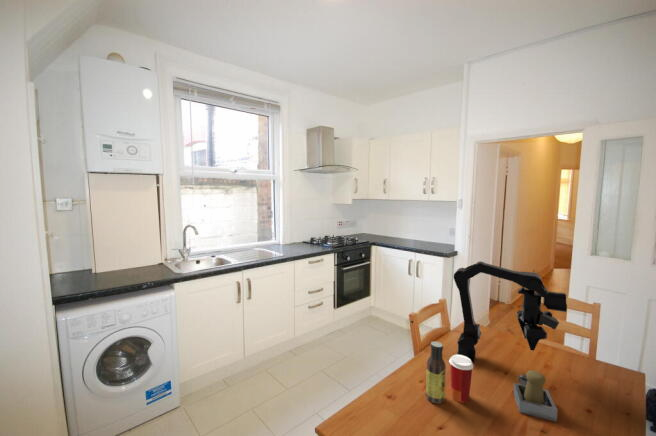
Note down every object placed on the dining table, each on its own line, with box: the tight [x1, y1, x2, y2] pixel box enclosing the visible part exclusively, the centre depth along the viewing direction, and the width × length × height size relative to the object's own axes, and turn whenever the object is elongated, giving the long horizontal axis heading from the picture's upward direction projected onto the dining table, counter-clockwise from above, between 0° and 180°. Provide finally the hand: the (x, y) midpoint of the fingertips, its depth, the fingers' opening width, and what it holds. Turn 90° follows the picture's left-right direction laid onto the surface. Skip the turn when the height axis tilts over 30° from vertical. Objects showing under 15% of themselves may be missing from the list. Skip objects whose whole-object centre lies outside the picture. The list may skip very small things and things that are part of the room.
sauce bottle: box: [425, 341, 447, 404], centre depth 100 cm, size 6×6×20 cm
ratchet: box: [512, 373, 559, 423], centre depth 101 cm, size 10×19×5 cm, turn 157°
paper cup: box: [448, 354, 475, 404], centre depth 101 cm, size 8×8×14 cm
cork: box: [523, 370, 546, 405], centre depth 97 cm, size 6×6×11 cm
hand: (529, 344), depth 113 cm, fingers open, 9 cm apart
